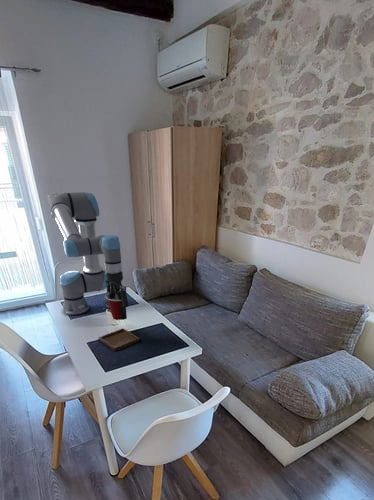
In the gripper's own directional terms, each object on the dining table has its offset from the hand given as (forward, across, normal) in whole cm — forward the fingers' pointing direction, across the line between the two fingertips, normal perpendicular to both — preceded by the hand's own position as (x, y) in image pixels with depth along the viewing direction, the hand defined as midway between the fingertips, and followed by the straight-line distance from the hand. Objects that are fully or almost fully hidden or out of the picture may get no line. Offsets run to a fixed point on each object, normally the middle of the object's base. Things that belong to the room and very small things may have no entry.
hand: (119, 316), depth 157 cm
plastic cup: (+1, 0, 0) cm, 1 cm away
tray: (+14, 0, +1) cm, 14 cm away
